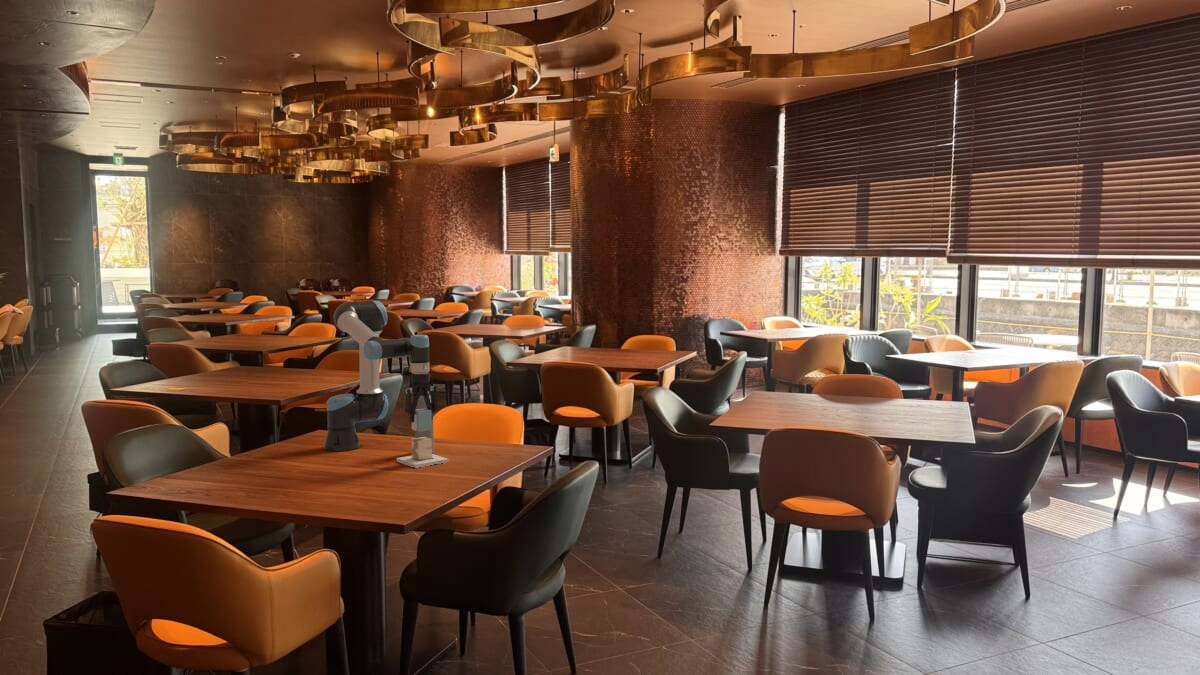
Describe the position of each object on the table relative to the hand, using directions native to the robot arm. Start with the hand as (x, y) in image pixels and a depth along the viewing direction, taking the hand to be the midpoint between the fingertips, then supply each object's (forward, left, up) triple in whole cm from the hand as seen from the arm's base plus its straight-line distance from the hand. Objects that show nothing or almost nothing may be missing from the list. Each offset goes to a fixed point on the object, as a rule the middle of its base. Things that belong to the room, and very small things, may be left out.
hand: (421, 428), depth 368 cm
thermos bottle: (-15, +10, -14) cm, 23 cm away
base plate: (0, 0, -14) cm, 14 cm away
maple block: (0, 0, -12) cm, 12 cm away
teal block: (0, 0, 0) cm, 0 cm away
